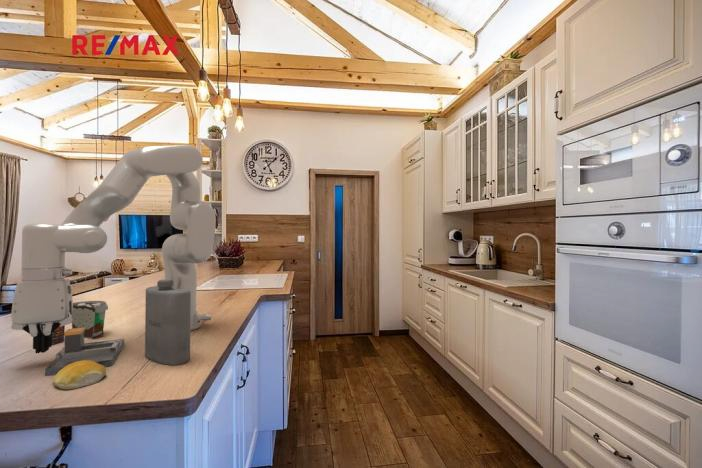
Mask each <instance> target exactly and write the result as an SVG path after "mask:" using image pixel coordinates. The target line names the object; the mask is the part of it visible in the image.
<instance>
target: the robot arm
mask: <svg viewBox="0 0 702 468" xmlns="http://www.w3.org/2000/svg"><path fill="white" fill-rule="evenodd" d="M202 165H203V155H202V153H201V152H200V151H199V149H198V148H197V147H196V146H193V145H190V144H174V145H173V144H172V145H153V146H151V145H150V146H149V145H148V146H142V147H138V148H134V149H130V150H128V151H127V152H125V153H124V154H123V155H122V157H120V158H119V160H118V162H117V163H115V165H113V168H112V169H111V170H110V172H109V173H108V174H107V175H106V177H105V178H104V179H103V180H102V182H101V183H100V184H99V185H98V186H97V188H95V189H94V190H93V191H92V192H91V193H89V195H88V196H87V197H85V198H84V199H83V200H82V201H81V202H80V203H79V204H78V205H77V206H75V208H74V209H72V211H70V213H69V215H68V216H67V217H66V218H65V219H64V221H63V222H62V223H61V224H56V223H54V224H51V223H29V224H26V225H24V227H22V230H21V231H22V232H21V269H20V270H21V276H20V278H21V281H17V283H16V287H15V290H14V294H13V297H12V298H13V299H12V306H11V316H10V317H11V318H10V319H11V326H10V328H11V330H16V331H17V330H18V331H24V332H26V333H27V334H29V336H30V337H32V349H33V350H35V351H34V353H35V354H39V353H47V351H48V350H49V349H50V348H52V346H53V344H52V332H54V331H55V330H56V329H57V328H58V327H61V326H64V325H65V326H68V325H70V324H72V318H71V315H72V313H73V303H74V301H73V291H72V286H71V282H70V281H71V280H70V279H69V278H67V276H70V275H71V276H72V274H73V269H68V268H67V267H66V253H79V254H91V253H96V252H99V251H100V250H102V249H103V248H104V247H105V246H106V245H107V242H108V235H107V233H106V232H105V230H104V229H103V228H101V227H100V226H101V225H102V224H103V223H104V222H105V221H106V220H107V219H108V218H110V217H111V216H113V215H114V214H115V213H117V212H120V211H122V210H124V209H125V208H127V207H128V206H130V205H131V204H132V203H133V202H134V200H135V198H136V197H137V196H138V194H139V193H140V191H141V190H142V189H143V187H144V186H145V184H146V183H147V182H148V180H150V178H151V177H158V176H166V177H167V178H168V180H169V182H170V183H171V187H172V188H171V189H172V191H171V192H172V193H171V201H170V202H171V203H170V210H169V211H170V212H169V213H170V214H169V222H170V224H171V226H173V228H175V229H177V230H181V231H182V230H183V231H186V233H175V234H172V235H170V236H169V237H167V238H166V239H165V240H164V242H163V244H162V247H161V256H162V260H163V266H164V267H163V268H164V279H172V280H173V286H172V288H175V289H185V290H190V291H191V307H190V332H191V331H194V330H197V329H199V328H200V327H201V326H202V321H211V319H212V314H207V313H203V314H201V313H198V310H197V298H198V297H197V289H198V288H197V285H198V284H197V283H198V282H197V281H198V280H197V279H198V275H197V269H196V265H195V264H203V263H205V262H207V261H208V260H209V259H210V258H211V256H212V254H213V251H214V246H215V234H216V222H217V220H216V218H217V217H216V213H215V210H214V208H213V207H212V206H211V205H210V204H209V203H207V202H205V201H201V186H200V183H199V180H198V178H197V176H196V175H195V174H194V172H197V171H198V170H199V169H200V168H201V167H202ZM41 323H46V325H45V330H44V333H43V331H42V328H41Z"/></svg>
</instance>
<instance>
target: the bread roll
mask: <svg viewBox="0 0 702 468" xmlns="http://www.w3.org/2000/svg"><path fill="white" fill-rule="evenodd" d="M106 373H107V367H104V366H103V365H100V364H98V363H96V362H94V361H92V360H82V361H77V362H74V363H71V364H69V365H67V366H65V367H64V368H63V369H61V370H60V371H59V372H58V373H57V374H55V376H54V378H53V385H54V386H55V387H57V388H59V389H61V390H71V389H72V390H74V389H78V388H83V387H87V386H90V385H93V384H95V383H98V382H100V381H101V380H102V379H103V378H104V376H105V375H106Z"/></svg>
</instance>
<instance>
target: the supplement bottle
mask: <svg viewBox="0 0 702 468" xmlns="http://www.w3.org/2000/svg"><path fill="white" fill-rule="evenodd" d="M45 325H46V323H41V328H42V331H43V333H44V330H45ZM65 327H66V325H64V326H61V327H58V328H57V329H56V330H55V331H54V332H52V345H54V344H55V345H56V344H59V343H61V342H64V341H65V336H64V332H65V331H66V330H65V329H66V328H65Z"/></svg>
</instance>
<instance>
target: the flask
mask: <svg viewBox="0 0 702 468" xmlns="http://www.w3.org/2000/svg"><path fill="white" fill-rule="evenodd" d="M156 283H157V284H156V285H155V286H149V287H146V289H145V310H144V311H145V314H144V315H145V317H144V319H145V326H144V327H145V328H144V332H145V333H144V336H145V337H144V347H145V348H144V356H145V357H146V358H147V359H148V360H151V361H152V362H155V363H158V364H162V365H168V366H180V365H183V364H186V363H188V362H189V361H190V359H191V331H190V307H191V291H190V290H185V289H175V288H172V286H173V280H172V279H165V278H164V279H163V278H162V279H159V280H157V282H156Z"/></svg>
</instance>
